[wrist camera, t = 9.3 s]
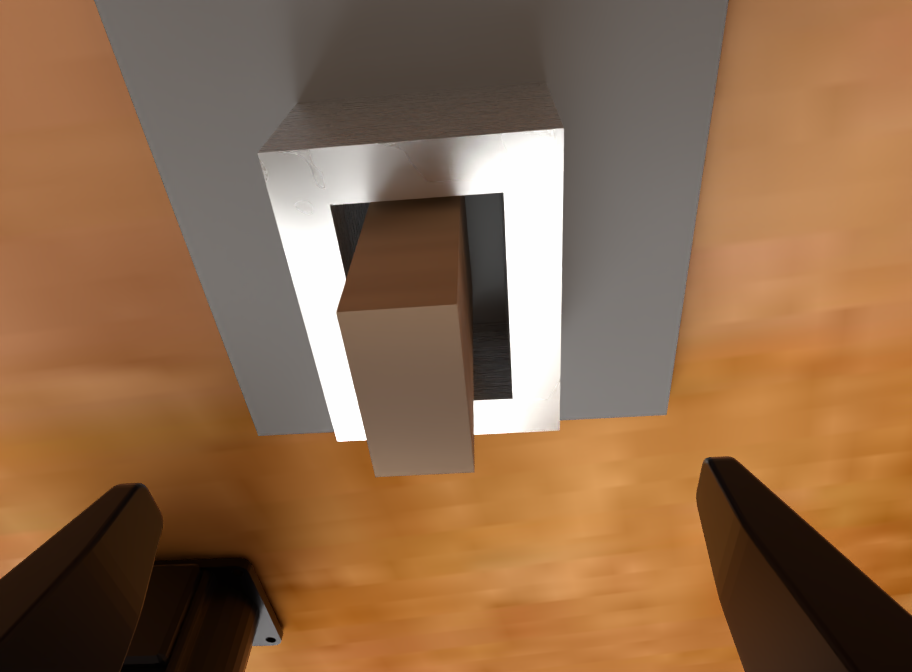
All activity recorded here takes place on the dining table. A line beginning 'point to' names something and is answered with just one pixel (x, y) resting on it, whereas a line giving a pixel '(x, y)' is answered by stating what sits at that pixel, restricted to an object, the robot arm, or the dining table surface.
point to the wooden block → (412, 336)
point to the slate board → (584, 195)
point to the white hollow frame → (426, 176)
